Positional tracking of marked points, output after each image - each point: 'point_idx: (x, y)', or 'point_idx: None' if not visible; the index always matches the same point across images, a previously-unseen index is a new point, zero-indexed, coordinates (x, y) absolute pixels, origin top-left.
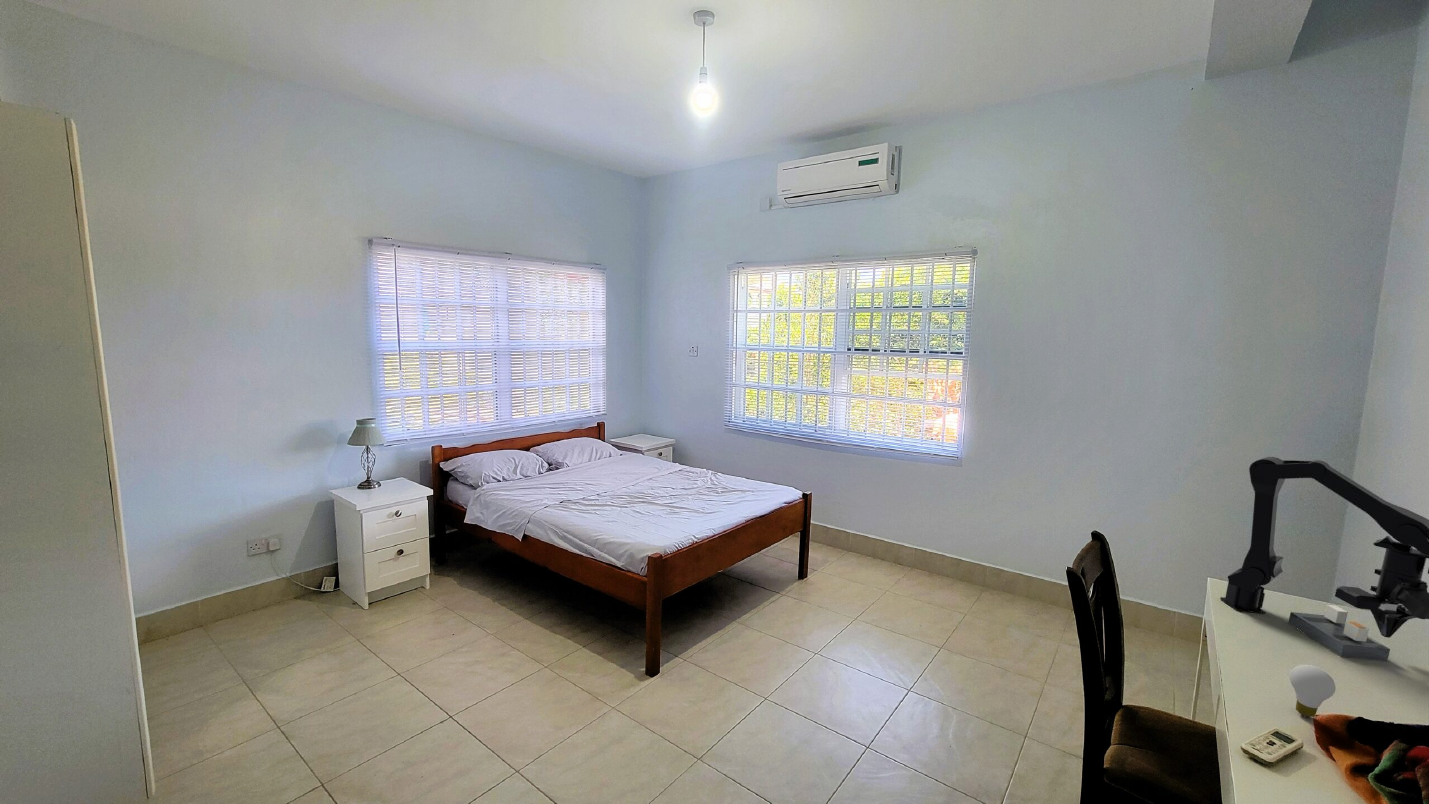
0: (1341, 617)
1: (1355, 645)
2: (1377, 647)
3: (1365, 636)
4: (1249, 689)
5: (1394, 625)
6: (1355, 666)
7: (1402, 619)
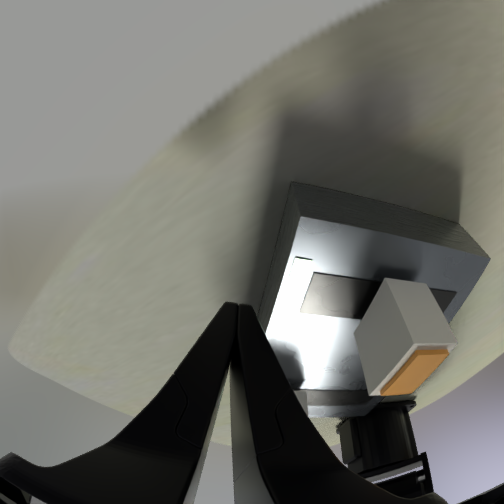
0: None
1: (459, 250)
2: (368, 232)
3: (403, 302)
4: None
5: (221, 385)
6: (484, 161)
7: (175, 448)
